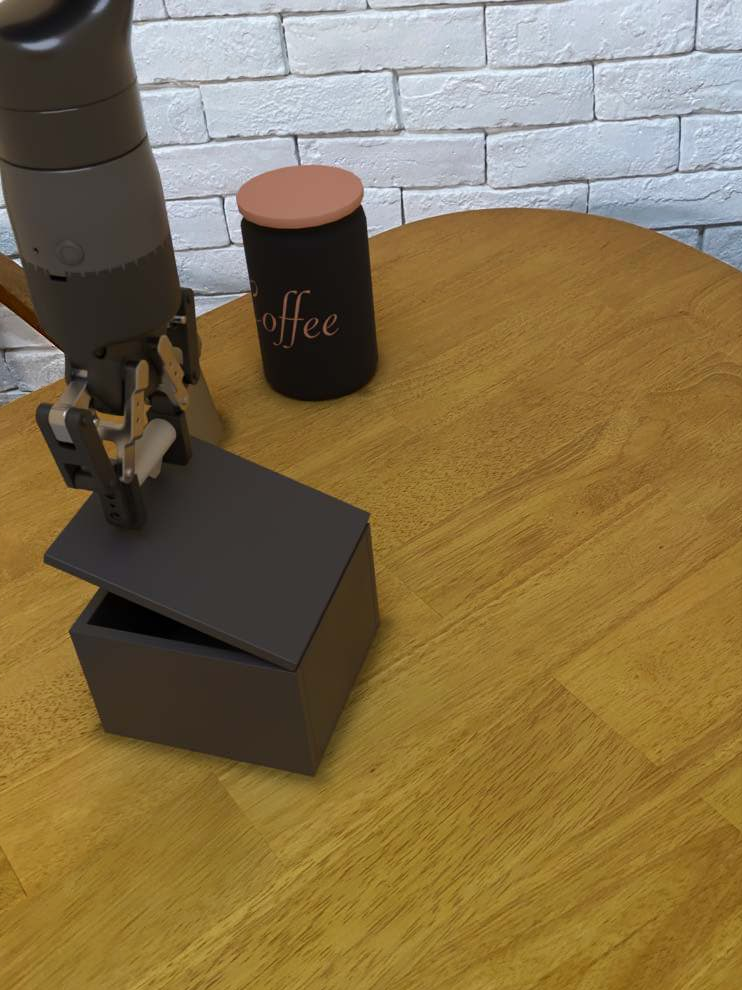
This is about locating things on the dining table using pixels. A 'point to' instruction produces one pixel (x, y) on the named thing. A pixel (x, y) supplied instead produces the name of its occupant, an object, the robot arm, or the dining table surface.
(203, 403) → the tan peg doll
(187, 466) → the lid
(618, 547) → the dining table surface
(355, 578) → the dark brown wooden box
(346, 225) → the coffee jar
